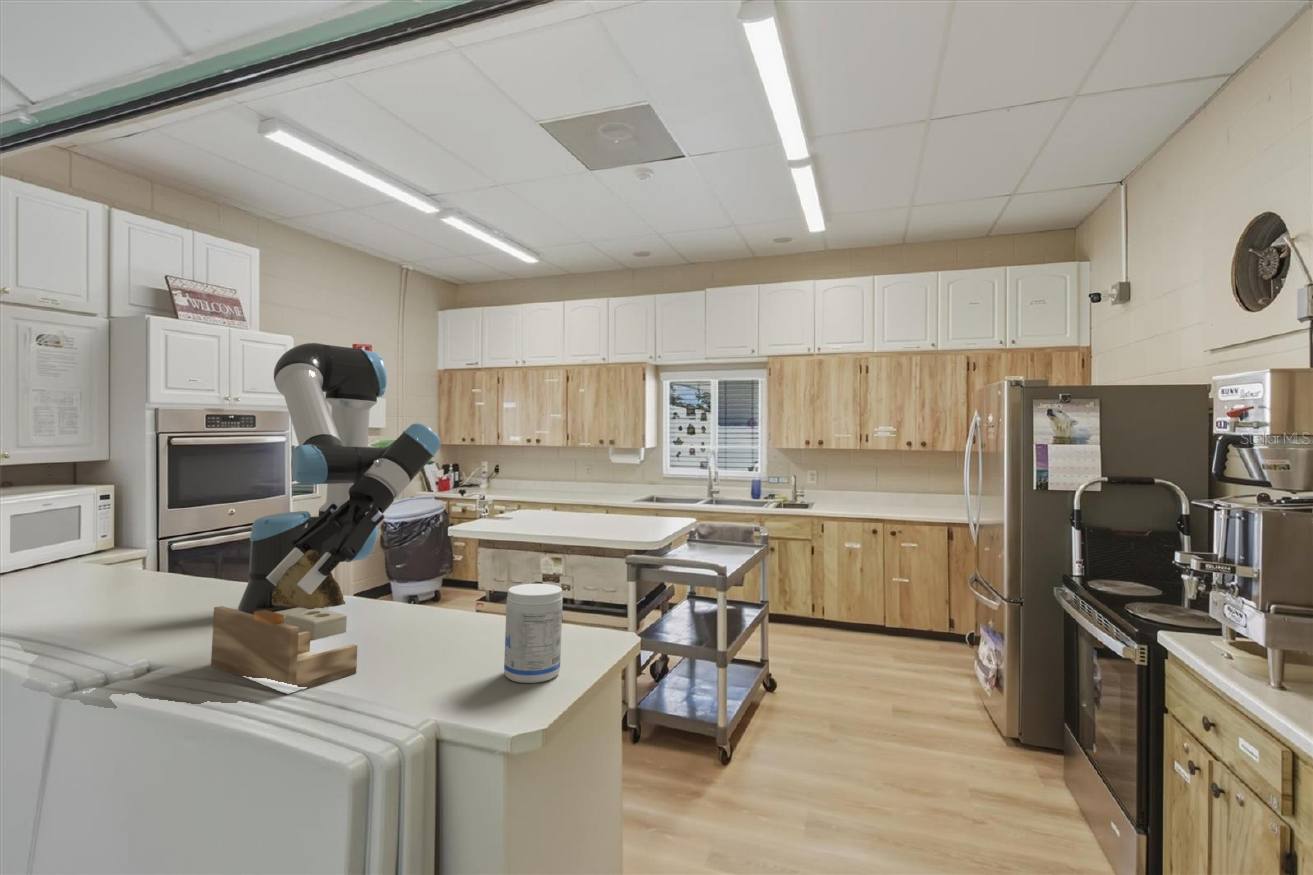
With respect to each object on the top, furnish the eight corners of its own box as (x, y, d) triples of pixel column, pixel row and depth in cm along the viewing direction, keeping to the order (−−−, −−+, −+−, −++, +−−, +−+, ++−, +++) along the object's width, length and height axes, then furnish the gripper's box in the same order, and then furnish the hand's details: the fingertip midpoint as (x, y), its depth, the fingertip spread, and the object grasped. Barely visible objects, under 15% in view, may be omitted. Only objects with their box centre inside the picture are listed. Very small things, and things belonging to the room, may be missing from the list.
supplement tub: (499, 669, 104) (502, 584, 104) (552, 662, 108) (555, 581, 108) (509, 688, 95) (512, 596, 96) (566, 681, 99) (569, 592, 99)
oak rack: (278, 648, 113) (281, 589, 113) (356, 673, 100) (359, 606, 101) (209, 665, 103) (213, 600, 103) (286, 695, 90) (289, 621, 91)
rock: (249, 594, 98) (279, 594, 93) (282, 549, 103) (312, 546, 98) (304, 623, 105) (335, 624, 99) (332, 579, 110) (363, 578, 104)
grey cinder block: (300, 602, 134) (347, 614, 125) (299, 621, 134) (346, 633, 124) (266, 609, 128) (313, 621, 118) (265, 628, 127) (312, 642, 118)
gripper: (332, 472, 116) (238, 565, 101) (403, 475, 105) (309, 579, 91) (356, 498, 120) (269, 591, 106) (427, 503, 109) (340, 607, 95)
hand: (287, 586), depth 98 cm, fingers closed on rock, 9 cm apart
